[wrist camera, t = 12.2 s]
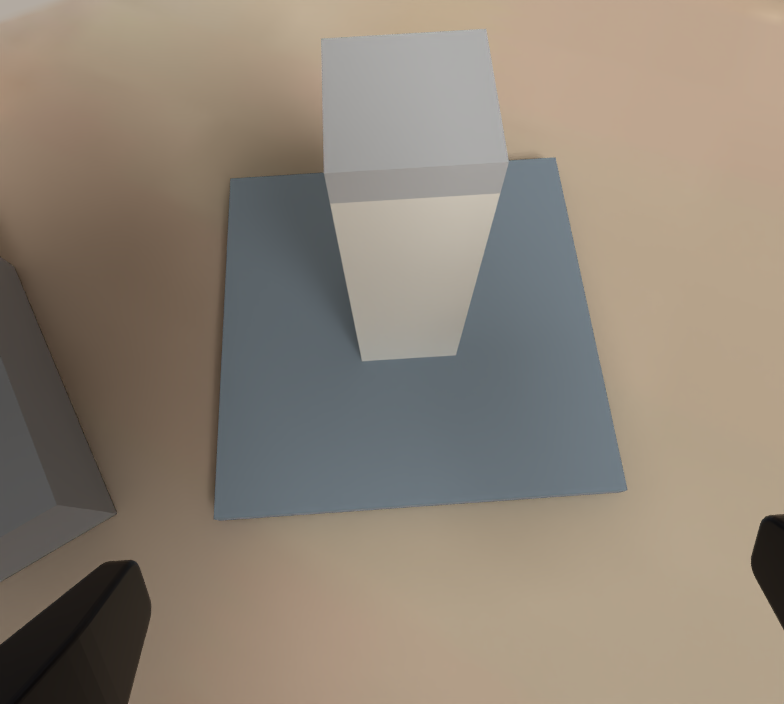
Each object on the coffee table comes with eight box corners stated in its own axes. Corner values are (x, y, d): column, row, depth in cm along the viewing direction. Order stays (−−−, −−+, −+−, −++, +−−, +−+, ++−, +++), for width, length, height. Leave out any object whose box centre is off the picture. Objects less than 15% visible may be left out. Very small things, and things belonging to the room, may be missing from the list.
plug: (455, 355, 17) (508, 161, 9) (361, 361, 17) (324, 173, 9) (446, 272, 18) (485, 28, 10) (358, 277, 18) (320, 38, 10)
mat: (619, 492, 16) (627, 490, 16) (220, 520, 16) (213, 519, 15) (551, 168, 20) (555, 157, 20) (235, 189, 20) (230, 178, 20)
